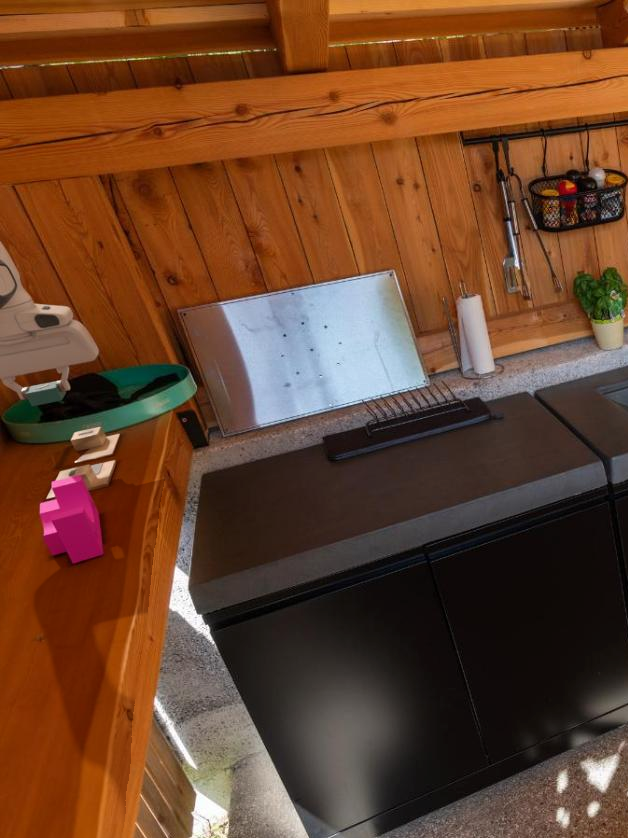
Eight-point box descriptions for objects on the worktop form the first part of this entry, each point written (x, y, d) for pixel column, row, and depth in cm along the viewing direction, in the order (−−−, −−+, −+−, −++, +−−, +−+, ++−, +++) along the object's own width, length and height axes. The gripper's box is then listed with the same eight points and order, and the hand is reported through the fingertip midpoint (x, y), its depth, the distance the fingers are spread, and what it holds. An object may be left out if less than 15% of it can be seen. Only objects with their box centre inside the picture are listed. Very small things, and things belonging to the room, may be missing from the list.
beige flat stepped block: (57, 469, 144) (49, 454, 142) (68, 448, 152) (61, 434, 151) (113, 456, 147) (106, 441, 145) (121, 436, 156) (114, 422, 154)
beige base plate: (47, 501, 132) (38, 486, 131) (60, 476, 141) (51, 461, 139) (108, 486, 135) (99, 470, 134) (116, 462, 144) (109, 447, 143)
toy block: (52, 527, 122) (31, 486, 119) (99, 514, 126) (80, 474, 122) (52, 569, 112) (29, 526, 108) (103, 554, 115) (83, 512, 111)
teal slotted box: (32, 406, 137) (24, 393, 136) (37, 398, 141) (30, 385, 140) (61, 400, 139) (55, 387, 138) (66, 392, 143) (59, 379, 142)
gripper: (-73, 338, 126) (-29, 414, 133) (74, 313, 135) (109, 385, 141) (-62, 329, 131) (-20, 402, 138) (80, 305, 139) (113, 375, 146)
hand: (46, 394), depth 140 cm, fingers closed on teal slotted box, 4 cm apart
